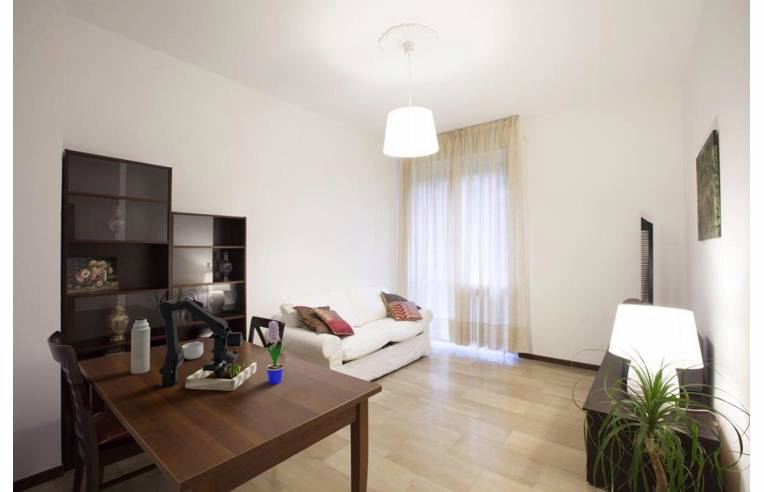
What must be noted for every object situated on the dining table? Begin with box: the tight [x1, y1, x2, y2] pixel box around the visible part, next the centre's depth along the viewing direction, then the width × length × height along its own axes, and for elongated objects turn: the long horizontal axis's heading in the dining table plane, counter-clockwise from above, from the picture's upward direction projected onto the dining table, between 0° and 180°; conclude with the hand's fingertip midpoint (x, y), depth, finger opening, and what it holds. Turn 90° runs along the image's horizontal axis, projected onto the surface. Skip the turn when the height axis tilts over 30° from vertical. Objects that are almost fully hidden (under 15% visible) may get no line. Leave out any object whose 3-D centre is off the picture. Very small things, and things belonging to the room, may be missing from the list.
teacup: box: [181, 340, 204, 360], centre depth 201 cm, size 14×11×8 cm
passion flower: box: [222, 361, 246, 379], centre depth 174 cm, size 13×12×14 cm
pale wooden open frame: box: [184, 361, 258, 392], centre depth 169 cm, size 24×23×4 cm
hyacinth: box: [265, 320, 286, 385], centre depth 167 cm, size 9×10×30 cm
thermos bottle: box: [130, 316, 151, 375], centre depth 177 cm, size 8×8×28 cm
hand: (219, 379), depth 165 cm, fingers closed
